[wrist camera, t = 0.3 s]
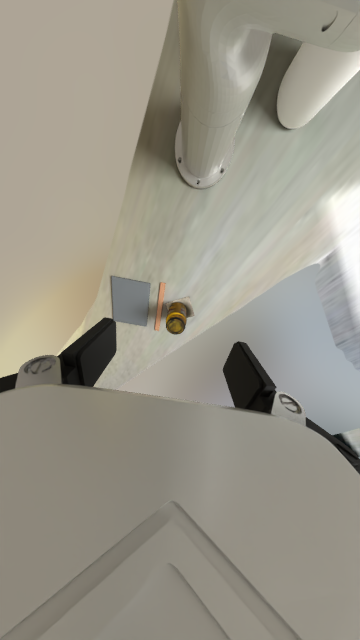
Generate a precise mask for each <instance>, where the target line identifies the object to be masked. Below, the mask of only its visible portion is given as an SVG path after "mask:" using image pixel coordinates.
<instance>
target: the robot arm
mask: <svg viewBox="0 0 360 640" xmlns="http://www.w3.org/2000/svg"><path fill="white" fill-rule="evenodd" d="M177 7H178V23H179V44H180V86H181V121H180V123H179V126H178V129H177V132H176V138H175V158H176V163H177V167H178V170H179V172H180V174H181V176H182V177H183V179H184V180H185V181H186V182H187V183H188V184H189V185H191V186H192V187H194V188H198V189H205V188H209V187H211V186H213V185H215V184H216V183H217V182H218V181H219V180H220V179H221V178H222V177H223V176H224V174H225V173H226V171H227V169H228V167H229V165H230V162H231V160H232V156H233V153H234V146H235V134H236V132H237V130H238V127H239V125H240V123H241V121H242V118H243V116H244V114H245V112H246V109H247V107H248V105H249V103H250V100H251V98H252V96H253V94H254V91H255V89H256V87H257V84H258V82H259V80H260V77H261V74H262V71H263V69H264V66H265V62H266V59H267V55H268V51H269V47H270V43H271V37H272V34H274V33H277V34H281V35H284V36H287V37H290V38H293V39H296V40H300V41H303V42H306V43H309V44H312V45H316V46H319V47H322V48H327V49H331V50H334V51H340V52H355V51H359V50H360V0H177ZM179 161H181V163H179ZM220 172H222V174H221V173H220ZM197 183H199V184H198V185H197ZM115 353H116V322H115V321H114V320H113V319H111V318H103V319H102V320H101V321H100V322H98V323H97V324H96V325H95V326H93V327H92V328H91V329H90V330H88V331H87V332H86V333H85V334H84V335H82V336H81V337H80V338H79V339H77V340H76V341H75V342H74V343H72V344H71V345H70V346H69V347H68V348H66V349H65V350H64V351H63V352H61V354H60V355H59V356H54V355H45V356H40V357H36V358H34V359H31V360H29V361H28V362H26V363H25V364H23V365H22V366H21V367H20V369H19V372H18V373H16V374H13V375H9V376H6V377H2V378H0V640H360V459H359V458H358V457H357V455H356V454H355V453H354V452H353V451H352V450H351V449H350V448H349V447H347V446H346V445H345V444H343V443H342V442H341V441H339V440H338V439H336V438H335V437H333V436H332V435H331V434H329V433H328V432H326V431H325V430H324V429H322V428H321V427H319V426H318V425H316V424H315V423H314V422H312V421H311V420H309V419H308V418H307V417H306V414H305V410H304V408H303V406H302V405H301V404H300V403H299V402H298V401H297V400H296V399H295V398H294V397H292V396H291V395H289V394H287V393H284V392H276V391H275V388H276V386H275V384H274V383H273V381H272V380H271V379H270V377H269V376H268V374H267V373H266V371H265V370H264V368H263V367H262V366H261V364H260V363H259V361H258V360H257V358H256V357H255V355H254V354H253V353H252V351H251V350H250V348H249V347H248V345H247V344H246V343H244V342H237V343H235V344H234V345H233V348H232V350H231V352H230V354H229V356H228V358H227V361H226V363H225V365H224V368H223V373H224V375H225V378H226V382H227V384H228V388H229V390H230V393H231V396H232V399H233V402H234V405H235V408H234V407H227V406H221V405H215V404H208V403H201V402H194V401H188V400H181V399H174V398H167V397H161V396H153V395H146V394H140V393H133V392H126V391H119V390H112V389H104V388H96V387H93V386H94V384H95V383H96V381H97V380H98V378H99V377H100V375H101V374H102V372H103V371H104V370H105V368H106V367H107V365H108V364H109V362H110V361H111V359H112V358H113V356H114V355H115Z"/></svg>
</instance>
